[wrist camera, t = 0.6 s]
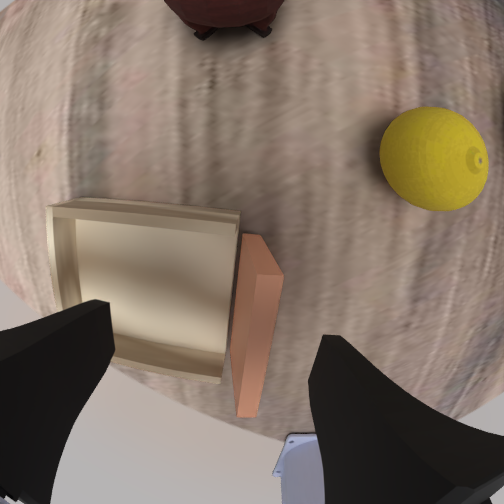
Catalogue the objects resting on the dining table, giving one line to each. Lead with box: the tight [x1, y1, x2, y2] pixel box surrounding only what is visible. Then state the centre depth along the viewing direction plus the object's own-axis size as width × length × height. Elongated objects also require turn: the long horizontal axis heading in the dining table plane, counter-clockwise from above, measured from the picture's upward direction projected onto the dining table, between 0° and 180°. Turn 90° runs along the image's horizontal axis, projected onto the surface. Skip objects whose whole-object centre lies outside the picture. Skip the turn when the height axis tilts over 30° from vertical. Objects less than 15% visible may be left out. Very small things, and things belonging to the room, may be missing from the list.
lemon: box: [380, 107, 488, 211], centre depth 12 cm, size 6×6×8 cm
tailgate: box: [230, 233, 284, 417], centre depth 14 cm, size 1×8×6 cm, turn 173°
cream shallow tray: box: [46, 197, 241, 384], centre depth 16 cm, size 10×11×4 cm
